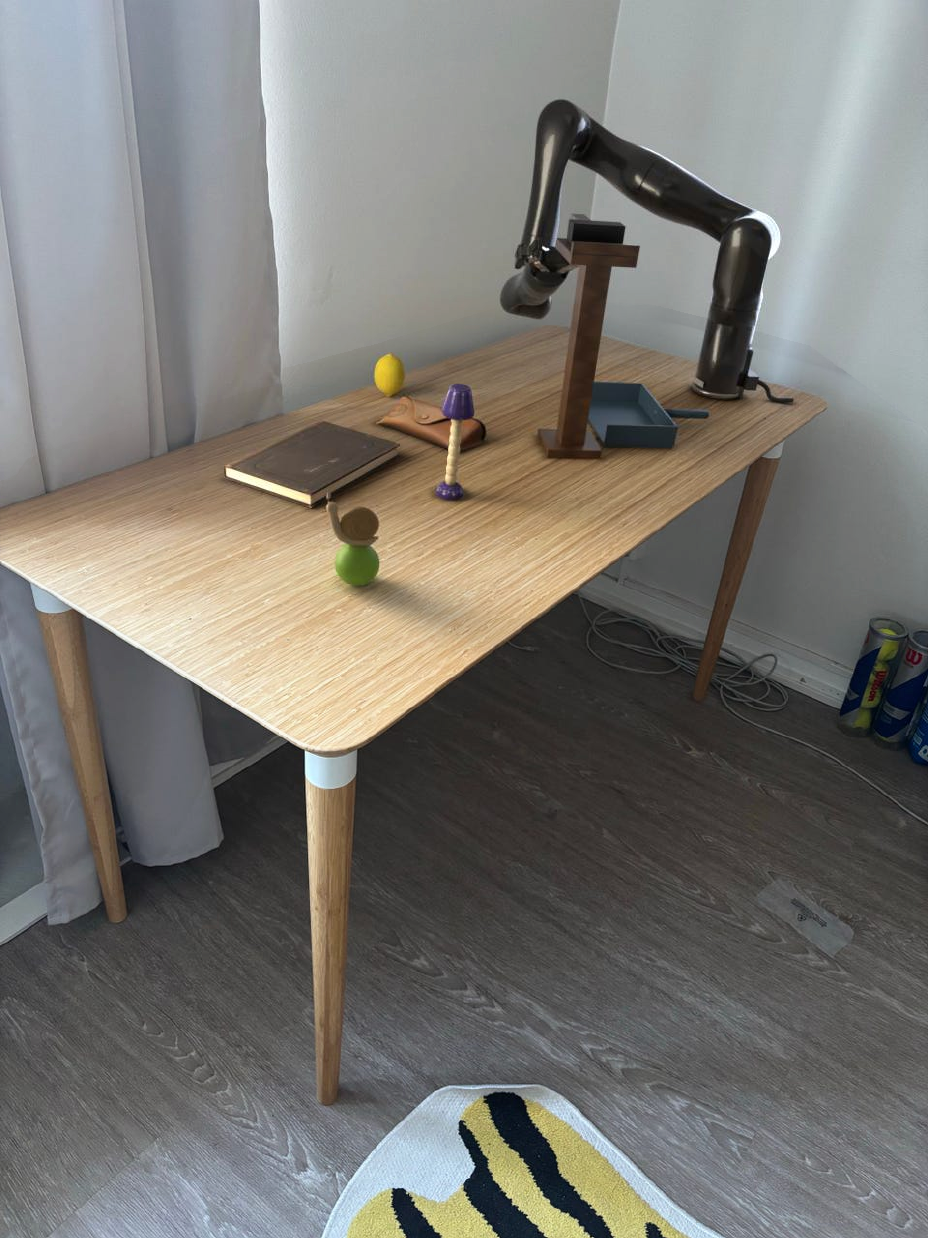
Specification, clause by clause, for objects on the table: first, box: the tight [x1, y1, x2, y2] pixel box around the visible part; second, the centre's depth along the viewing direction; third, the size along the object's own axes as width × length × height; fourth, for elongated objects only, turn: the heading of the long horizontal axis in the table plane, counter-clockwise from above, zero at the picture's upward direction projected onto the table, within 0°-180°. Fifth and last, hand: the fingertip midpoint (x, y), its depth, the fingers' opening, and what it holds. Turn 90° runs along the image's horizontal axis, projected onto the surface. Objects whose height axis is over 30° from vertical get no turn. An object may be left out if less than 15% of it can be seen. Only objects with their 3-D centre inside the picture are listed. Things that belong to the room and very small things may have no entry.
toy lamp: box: [435, 383, 475, 501], centre depth 133 cm, size 5×5×17 cm
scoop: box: [588, 381, 711, 449], centre depth 167 cm, size 22×22×4 cm
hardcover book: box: [223, 419, 401, 509], centre depth 141 cm, size 16×23×2 cm
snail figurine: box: [325, 492, 380, 587], centre depth 111 cm, size 5×6×12 cm
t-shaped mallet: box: [566, 213, 626, 246], centre depth 144 cm, size 14×8×3 cm, turn 7°
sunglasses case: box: [376, 393, 487, 452], centre depth 156 cm, size 18×7×7 cm
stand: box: [536, 237, 641, 460], centre depth 147 cm, size 10×11×34 cm
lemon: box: [374, 352, 406, 398], centre depth 168 cm, size 6×6×8 cm
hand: (565, 244), depth 157 cm, fingers open, 8 cm apart
